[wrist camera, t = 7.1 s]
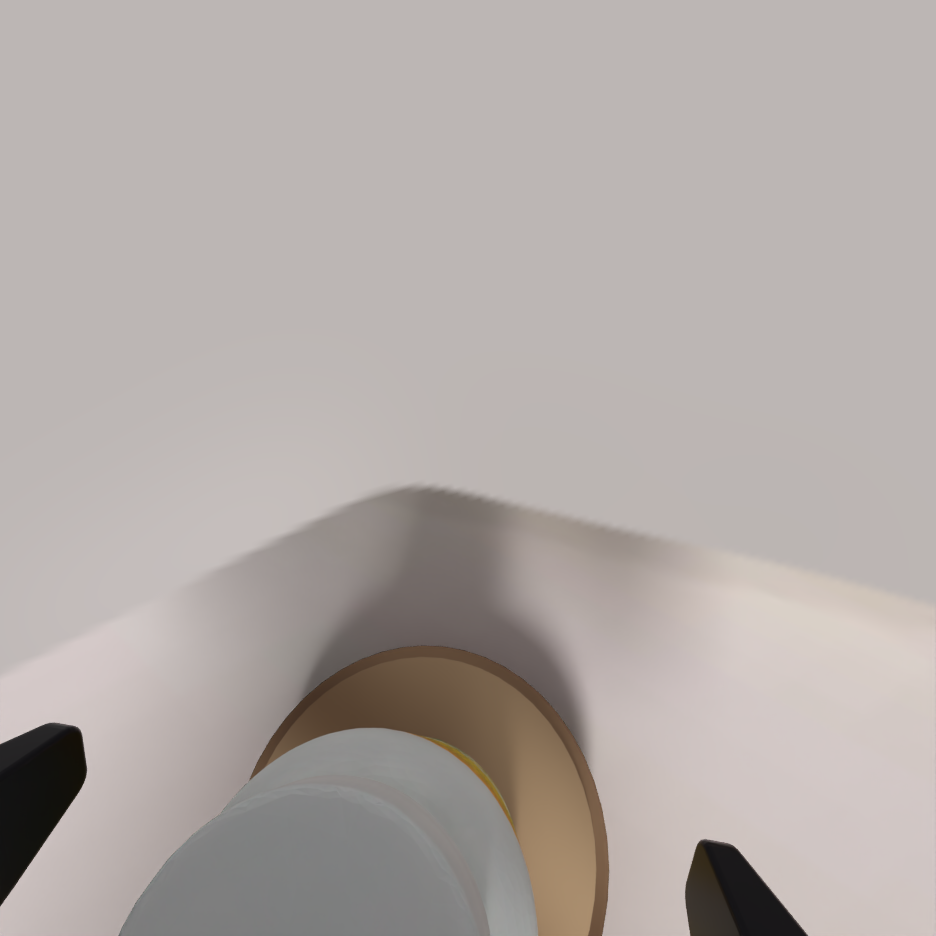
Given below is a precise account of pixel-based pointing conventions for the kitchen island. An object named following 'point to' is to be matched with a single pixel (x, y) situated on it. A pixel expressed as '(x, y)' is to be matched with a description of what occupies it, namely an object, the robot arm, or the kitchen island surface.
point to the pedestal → (483, 761)
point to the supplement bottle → (350, 850)
